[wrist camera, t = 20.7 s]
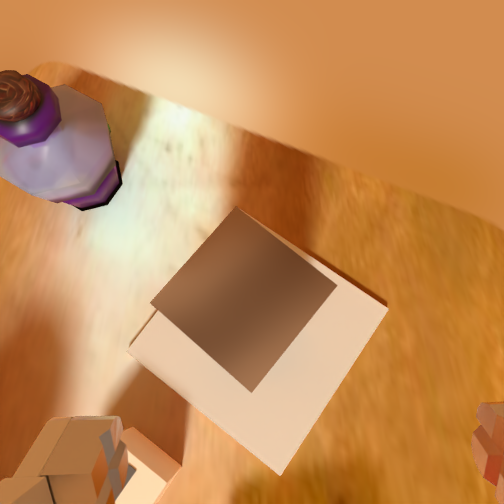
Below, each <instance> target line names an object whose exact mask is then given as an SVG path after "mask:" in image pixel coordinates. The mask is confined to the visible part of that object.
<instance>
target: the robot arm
mask: <svg viewBox="0 0 504 504" xmlns="http://www.w3.org/2000/svg"><path fill="white" fill-rule="evenodd" d="M476 417H477V419H478V420H479V422H480V423H481V425H480V426H479V427H478V428H477V429H476V430H475V431H474V432H473V436H472V444H471V445H472V451H473V457H474V460H475V463H476V465H477V468H478V469H479V471H480V473H481V474H482V476H483V478H485V479H486V480H488V481H489V482H490V483H492V484H493V485H495V486H496V492H495V497H496V499H497V500H498V502H499V504H504V402H484V403H481V404H480V406H479V407H478V410H477V415H476ZM122 432H123V425H122V421H121V418H120V417H118V416H75V417H52V418H51V419H49V420H48V421H47V422H46V424H45V425H44V427H43V428H42V430H41V432H40V433H39V435H38V436H37V438H36V440H35V441H34V443H33V444H32V446H31V448H30V449H29V451H28V452H27V454H26V456H25V457H24V459H23V461H22V462H21V464H20V465H19V467H18V469H17V470H16V472H15V473H14V475H13V477H12V478H4V479H3V480H1V481H0V504H115V499H114V498H115V497H116V496H117V495H118V494H119V493H120V492H121V491H122V490H123V487H124V484H125V480H126V476H127V468H128V452H127V446H126V444H125V443H124V442H123V441H121V440H120V438H121V435H122Z"/></svg>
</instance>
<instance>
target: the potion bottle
mask: <svg viewBox="0 0 504 504" xmlns="http://www.w3.org/2000/svg"><path fill="white" fill-rule="evenodd" d="M110 133H111V131H110V127H109V125H108V123H107V121H106V117H105V114H104V110H103V107H102V104H101V103H99V102H97V101H96V100H94V99H92V98H90V97H88V96H86V95H84V94H82V93H80V92H78V91H77V90H75V89H73V88H71V87H69V86H67V85H65V84H64V85H60V86H56V87H52V88H50V87H49V85H47V84H45V83H43V82H41V81H39V80H37V79H36V78H34V77H32V76H30V75H28V74H26V75H21V74H19V73H18V72H17V71H14V70H13V71H12V70H5V71H2V72H0V176H1V177H2V178H4V179H6V180H7V181H9V182H11V183H12V184H14V185H16V186H17V187H19V188H21V189H22V190H24V191H26V192H27V193H29V194H31V195H33V196H36V197H39V198H42V199H45V200H49V201H52V202H55V203H60V202H64V203H67V204H71V205H73V206H74V207H76V208H78V209H79V210H81V211H85V210H89V209H93V208H97V207H101V206H105V205H108V204H109V202H110V201H111V199H112V198H113V197H114V195H115V194H116V192H117V191H118V190H119V188H120V187H121V185H122V179H121V173H120V168H119V162H118V161H116V160H115V157H114V152H113V147H112V142H111V136H110Z"/></svg>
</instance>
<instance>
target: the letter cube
mask: <svg viewBox="0 0 504 504" xmlns="http://www.w3.org/2000/svg"><path fill="white" fill-rule="evenodd" d="M120 440H121V441H123V442H124V443H125V444H126V446H127V452H128V468H127V476H126V480H125V484H124V487H123V490H122V491H121V492H120V493H119V494H118V495H117V496H116V497H115V498H114V499H115V504H157V503H158V501H159V500H160V498H161V497H162V495H163V494H164V492H165V491H166V489H167V488H168V486H169V485H170V483H171V482H172V480H173V479H174V477H175V476H176V474H177V473H178V471H179V470H180V469H181V467H182V466H181V465H180V464H179V463H178V462H176V461H175V460H174V459H173V458H171V457H170V456H169V455H168V454H166V453H165V452H164V451H163V450H161V449H160V448H159V447H158V446H157V445H155V444H154V443H153V442H152V441H150V440H149V439H148V438H147V437H145V436H144V435H143V434H142V433H141V432H139V431H138V430H137V429H136V428H134V427H131V428H128V429H126V430H124V431H123V432H122V435H121V438H120Z"/></svg>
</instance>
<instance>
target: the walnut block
mask: <svg viewBox="0 0 504 504" xmlns="http://www.w3.org/2000/svg"><path fill="white" fill-rule="evenodd" d="M337 286H338V285H337V284H335V283H334V282H333V281H332V280H330V279H329V278H328V277H326V276H325V275H324V274H323V273H321V272H320V271H319V270H317V269H316V268H315V267H314V266H312V265H311V264H310V263H308V262H307V261H306V260H305V259H303V258H302V257H301V256H299V255H298V254H297V253H296V252H294V251H293V250H292V249H290V248H289V247H288V246H287V245H285V244H284V243H283V242H281V241H280V240H279V239H278V238H276V237H275V236H274V235H272V234H271V233H270V232H269V231H267V230H266V229H265V228H263V227H262V226H261V225H260V224H258V223H257V222H256V221H254V220H253V219H252V218H251V217H249V216H248V215H247V214H245V213H244V212H243V211H242V210H240V209H239V208H238V207H235V208H234V209H233V210H232V212H231V213H230V214H229V215H228V216H227V217H226V218H225V219H224V220H223V222H222V223H221V224H220V225H219V226H218V227H217V228H216V229H215V231H214V232H213V233H212V234H211V235H210V236H209V237H208V238H207V240H206V241H205V242H204V243H203V244H202V245H201V246H200V247H199V248H198V250H197V251H196V252H195V253H194V254H193V255H192V256H191V257H190V259H189V260H188V261H187V262H186V263H185V264H184V265H183V266H182V268H181V269H180V270H179V271H178V272H177V273H176V274H175V275H174V276H173V278H172V279H171V280H170V281H169V282H168V283H167V284H166V285H165V287H164V288H163V289H162V290H161V291H160V292H159V293H158V294H157V296H156V297H155V298H154V299H153V300H152V301H151V302H150V303H151V304H152V305H153V306H154V307H155V308H156V309H157V310H158V311H160V312H161V313H162V314H163V315H164V316H165V317H166V318H167V319H169V320H170V321H171V322H172V323H173V324H174V325H175V326H176V327H178V328H179V329H180V330H181V331H182V332H183V333H184V334H185V335H187V336H188V337H189V338H190V339H191V340H192V341H193V342H194V343H196V344H197V345H198V346H199V347H200V348H201V349H202V350H203V351H205V352H206V353H207V354H208V355H209V356H210V357H211V358H212V359H214V360H215V361H216V362H217V363H218V364H219V365H220V366H221V367H223V368H224V369H225V370H226V371H227V372H228V373H229V374H230V375H232V376H233V377H234V378H235V379H236V380H237V381H238V382H239V383H241V384H242V385H243V386H244V387H245V388H246V389H247V390H248V391H250V392H251V393H252V392H253V391H254V390H255V388H256V387H257V386H258V385H259V383H260V382H261V381H262V380H263V378H264V377H265V376H266V375H267V373H268V372H269V371H270V369H271V368H272V367H273V366H274V364H275V363H276V362H277V361H278V359H279V358H280V357H281V356H282V354H283V353H284V352H285V351H286V349H287V348H288V347H289V346H290V344H291V343H292V342H293V341H294V339H295V338H296V337H297V336H298V334H299V333H300V332H301V331H302V329H303V328H304V327H305V326H306V324H307V323H308V322H309V321H310V319H311V318H312V317H313V316H314V314H315V313H316V312H317V311H318V309H319V308H320V307H321V306H322V304H323V303H324V302H325V301H326V299H327V298H328V297H329V296H330V294H331V293H332V292H333V291H334V289H335V288H336V287H337Z"/></svg>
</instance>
